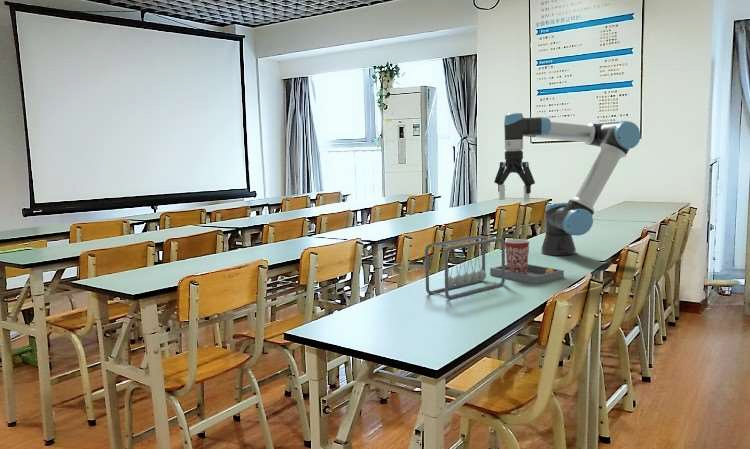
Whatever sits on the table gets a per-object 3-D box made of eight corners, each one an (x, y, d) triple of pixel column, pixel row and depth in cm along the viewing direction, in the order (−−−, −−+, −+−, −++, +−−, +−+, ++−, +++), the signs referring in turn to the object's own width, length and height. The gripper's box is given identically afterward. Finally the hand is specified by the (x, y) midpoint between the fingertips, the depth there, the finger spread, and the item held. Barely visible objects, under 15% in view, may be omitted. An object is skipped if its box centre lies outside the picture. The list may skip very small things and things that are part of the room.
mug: (521, 279, 221) (521, 243, 219) (500, 276, 227) (500, 241, 226) (538, 273, 230) (538, 239, 228) (517, 270, 236) (517, 237, 235)
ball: (549, 275, 225) (549, 267, 225) (555, 277, 223) (556, 268, 222) (543, 277, 224) (543, 268, 223) (550, 278, 221) (550, 269, 221)
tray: (518, 270, 240) (518, 262, 239) (563, 279, 222) (563, 270, 221) (490, 276, 231) (490, 267, 230) (535, 285, 213) (535, 276, 212)
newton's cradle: (446, 300, 197) (445, 247, 195) (425, 295, 205) (424, 244, 203) (505, 285, 216) (505, 237, 213) (483, 280, 224) (483, 234, 221)
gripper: (485, 151, 259) (486, 199, 261) (531, 150, 238) (531, 202, 241) (497, 150, 263) (498, 198, 266) (543, 149, 243) (543, 201, 245)
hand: (514, 200), depth 253 cm, fingers open, 13 cm apart
